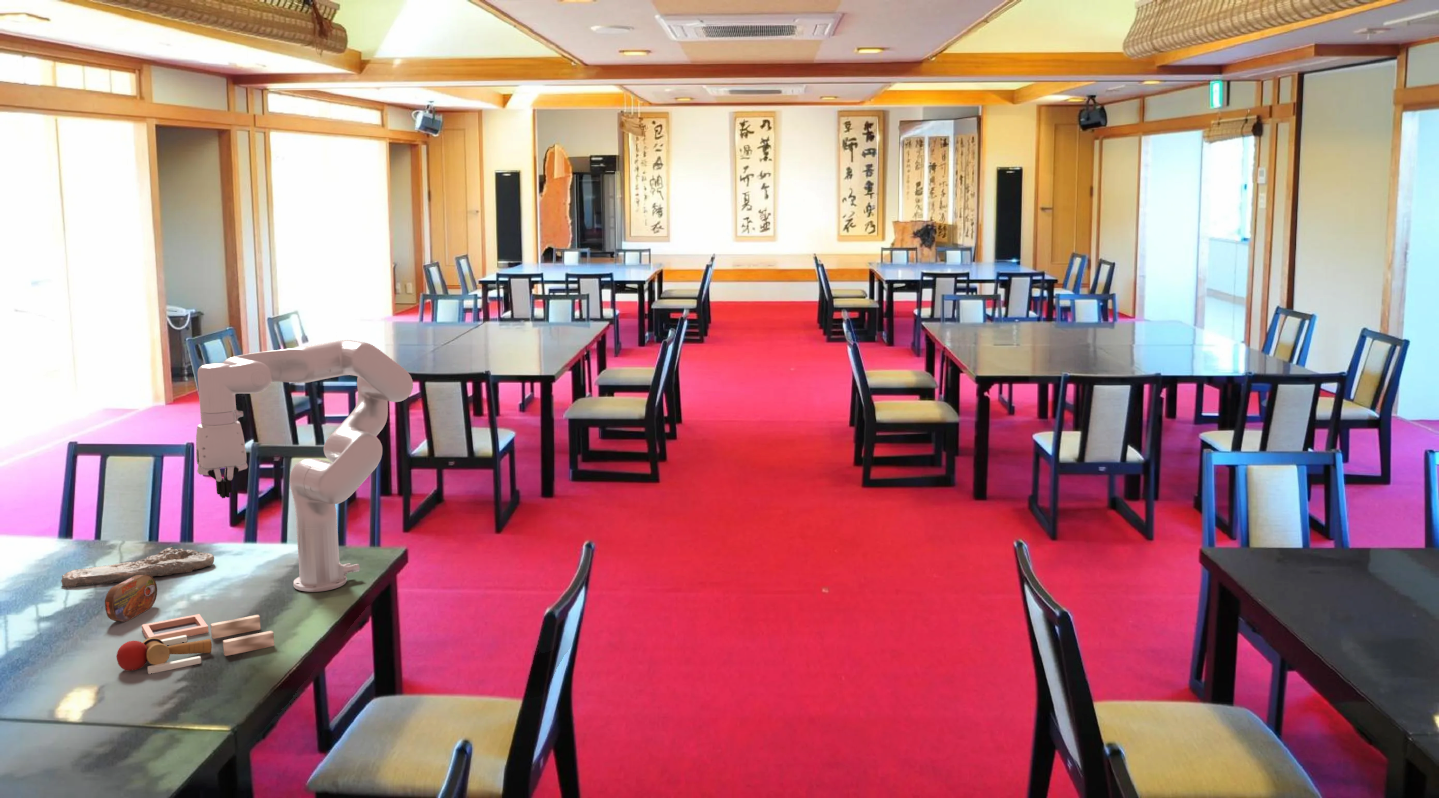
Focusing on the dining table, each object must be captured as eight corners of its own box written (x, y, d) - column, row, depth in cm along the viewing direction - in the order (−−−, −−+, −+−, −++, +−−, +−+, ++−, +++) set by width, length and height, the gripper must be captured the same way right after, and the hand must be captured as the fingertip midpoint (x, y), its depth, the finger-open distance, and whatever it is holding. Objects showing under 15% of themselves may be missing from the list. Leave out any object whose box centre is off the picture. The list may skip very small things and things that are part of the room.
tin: (116, 627, 269) (112, 591, 268) (103, 626, 270) (100, 590, 268) (159, 604, 284) (156, 569, 282) (148, 603, 284) (145, 569, 283)
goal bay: (186, 639, 262) (185, 634, 261) (201, 663, 249) (200, 657, 249) (135, 649, 256) (135, 644, 256) (148, 674, 244) (148, 668, 244)
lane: (258, 627, 269) (258, 614, 269) (274, 645, 259) (273, 632, 258) (211, 636, 264) (210, 623, 263) (225, 655, 253) (224, 642, 252)
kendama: (203, 651, 259) (111, 660, 248) (206, 625, 257) (114, 632, 246) (212, 669, 253) (119, 679, 242) (216, 642, 252) (122, 651, 240)
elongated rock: (62, 585, 301) (63, 599, 292) (59, 565, 299) (60, 579, 291) (212, 557, 317) (217, 570, 308) (210, 538, 316) (214, 550, 307)
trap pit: (199, 620, 273) (199, 613, 273) (208, 632, 266) (208, 626, 266) (142, 631, 267) (141, 624, 266) (149, 644, 259) (149, 637, 259)
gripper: (249, 412, 279) (254, 488, 283) (180, 419, 271) (186, 497, 274) (257, 417, 273) (262, 495, 277) (187, 424, 265) (193, 505, 268)
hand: (224, 496), depth 276 cm, fingers closed
